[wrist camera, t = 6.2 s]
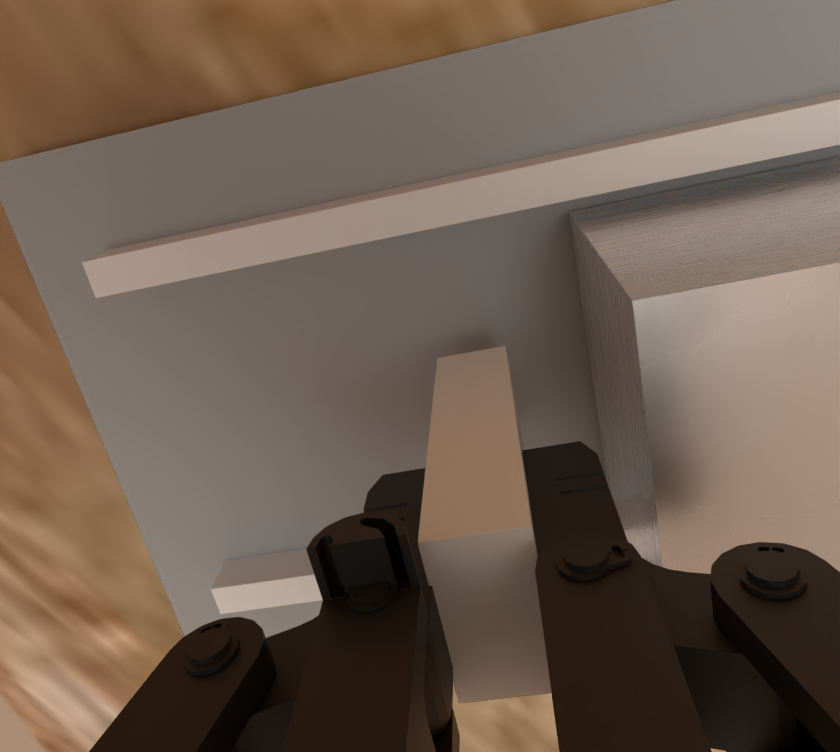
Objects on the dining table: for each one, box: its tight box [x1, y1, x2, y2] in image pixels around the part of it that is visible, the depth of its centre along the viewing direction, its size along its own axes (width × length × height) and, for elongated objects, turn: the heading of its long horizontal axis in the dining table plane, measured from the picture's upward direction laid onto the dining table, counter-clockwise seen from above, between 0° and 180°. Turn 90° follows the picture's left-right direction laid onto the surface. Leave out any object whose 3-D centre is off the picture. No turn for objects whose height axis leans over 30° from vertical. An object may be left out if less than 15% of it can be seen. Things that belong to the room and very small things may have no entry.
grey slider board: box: [0, 0, 840, 638], centre depth 14 cm, size 16×32×8 cm, turn 102°
